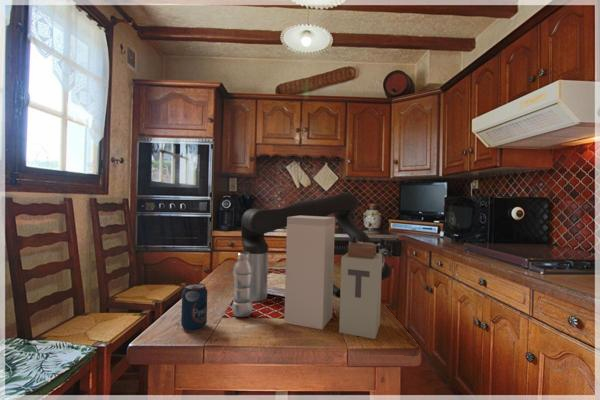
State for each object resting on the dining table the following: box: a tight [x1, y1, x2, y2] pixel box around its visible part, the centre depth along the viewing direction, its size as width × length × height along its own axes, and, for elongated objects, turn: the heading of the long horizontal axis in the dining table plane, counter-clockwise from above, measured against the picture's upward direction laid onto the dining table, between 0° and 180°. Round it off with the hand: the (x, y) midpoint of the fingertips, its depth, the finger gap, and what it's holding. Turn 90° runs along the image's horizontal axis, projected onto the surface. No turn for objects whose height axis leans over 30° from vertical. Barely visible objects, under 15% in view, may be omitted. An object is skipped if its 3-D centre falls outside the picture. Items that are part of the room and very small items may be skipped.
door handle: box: [333, 283, 341, 298], centre depth 133 cm, size 3×20×16 cm
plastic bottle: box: [231, 251, 254, 318], centre depth 103 cm, size 6×7×20 cm
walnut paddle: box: [347, 242, 376, 259], centre depth 100 cm, size 18×7×3 cm, turn 159°
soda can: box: [180, 282, 208, 333], centre depth 93 cm, size 7×7×12 cm
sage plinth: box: [338, 252, 382, 340], centre depth 95 cm, size 11×10×22 cm
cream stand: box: [283, 216, 336, 330], centre depth 101 cm, size 11×12×32 cm
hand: (367, 240), depth 104 cm, fingers open, 8 cm apart
